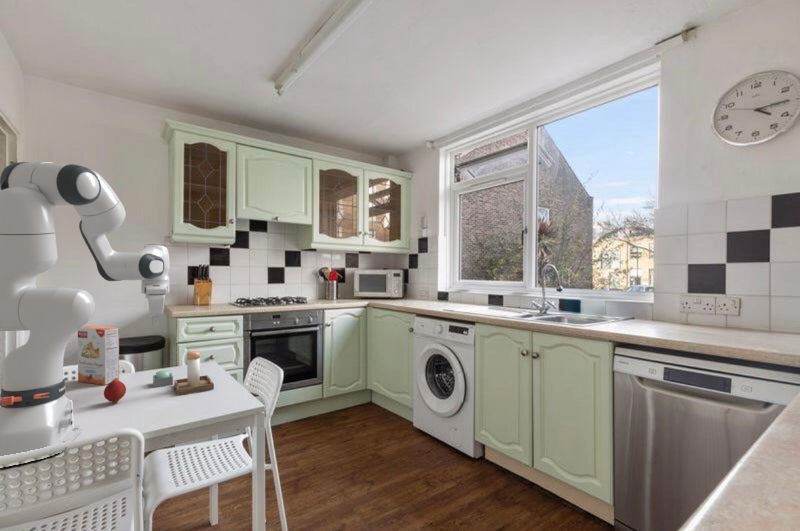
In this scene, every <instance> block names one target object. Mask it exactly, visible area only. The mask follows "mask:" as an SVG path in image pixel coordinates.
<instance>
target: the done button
mask: <svg viewBox="0 0 800 531" xmlns="http://www.w3.org/2000/svg"><path fill="white" fill-rule="evenodd" d="M170 373H171V371H170V370H167V369H165V370H164V369H163V370H159V371H156V372H155V375H156V379H157V378H164V377H170Z"/></svg>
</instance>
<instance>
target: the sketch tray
mask: <svg viewBox="0 0 800 531" xmlns="http://www.w3.org/2000/svg"><path fill="white" fill-rule="evenodd" d="M173 385H174V388H176V389H175V392H176V394H177V396H182V395H183V394H184V395H188V394H189V393H190V394H195V393H194V392H196V393H200V392H201V391H202V392H207V390H208V391H213V389H214V390H215V388H214V387H215V384H214V382H213V381H212V379H211V378H210V375H208V374H206V375H200V385H199V386H195V387H188V386H187V378H180V379H175V380H174V379H173Z"/></svg>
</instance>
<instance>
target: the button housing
mask: <svg viewBox="0 0 800 531" xmlns="http://www.w3.org/2000/svg"><path fill="white" fill-rule="evenodd" d="M173 378H174V376H173V373H172V372H170V377H164V378H157V379H156V374H153V375H152V386H153V388H160V386H161V387H165V386H166V385H167V386H173V385H174V379H173Z"/></svg>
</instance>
